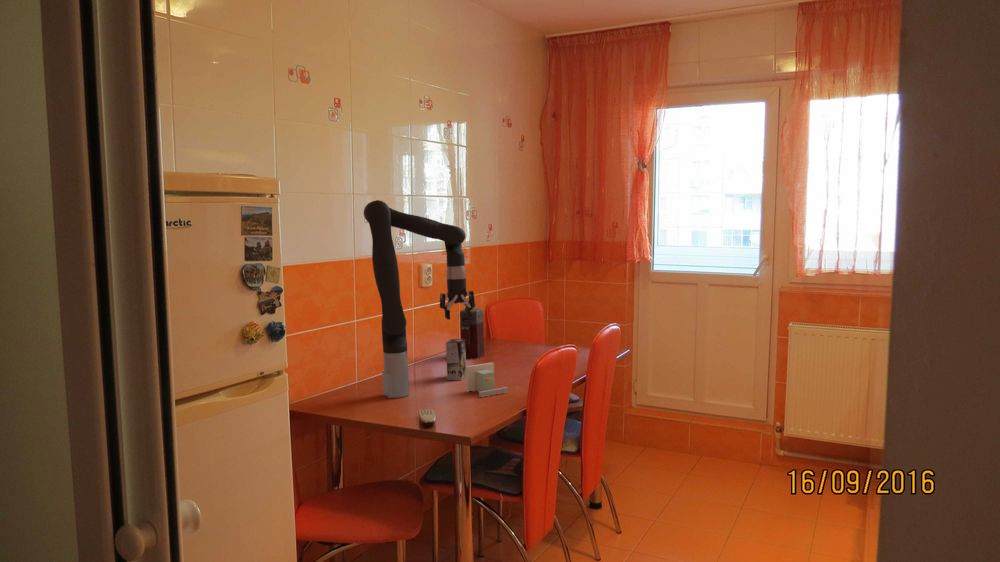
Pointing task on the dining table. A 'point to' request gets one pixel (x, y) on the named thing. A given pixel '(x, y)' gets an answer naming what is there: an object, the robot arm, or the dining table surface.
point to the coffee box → (456, 359)
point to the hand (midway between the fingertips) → (457, 318)
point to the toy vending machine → (472, 332)
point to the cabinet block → (485, 380)
